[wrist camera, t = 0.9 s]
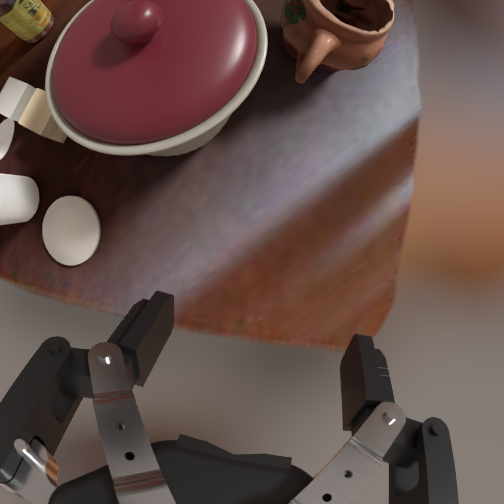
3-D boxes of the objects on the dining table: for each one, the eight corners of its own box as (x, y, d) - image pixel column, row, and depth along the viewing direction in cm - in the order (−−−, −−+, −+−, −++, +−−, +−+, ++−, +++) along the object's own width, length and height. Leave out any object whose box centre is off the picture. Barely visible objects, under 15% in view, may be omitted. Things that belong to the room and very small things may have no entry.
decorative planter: (332, 130, 36) (385, 97, 22) (245, 91, 34) (257, 35, 20) (369, 29, 34) (413, -16, 20) (296, -5, 32) (321, -63, 18)
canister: (119, 53, 31) (57, -38, 10) (251, 49, 33) (277, -64, 12) (103, 179, 34) (-7, 157, 13) (246, 178, 36) (276, 141, 15)
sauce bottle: (56, 31, 29) (-5, -31, 9) (26, 51, 29) (-42, 2, 9) (55, 8, 28) (2, -52, 8) (26, 27, 28) (-33, -23, 8)
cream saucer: (38, 213, 33) (34, 213, 32) (87, 184, 34) (84, 184, 33) (59, 273, 35) (56, 275, 34) (110, 249, 35) (108, 250, 34)
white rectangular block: (14, 117, 31) (-8, 109, 25) (30, 88, 30) (9, 76, 24) (32, 127, 31) (9, 118, 25) (49, 96, 31) (28, 84, 25)
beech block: (40, 131, 32) (17, 123, 26) (57, 100, 31) (36, 87, 25) (63, 143, 32) (40, 135, 27) (81, 110, 32) (60, 97, 26)
